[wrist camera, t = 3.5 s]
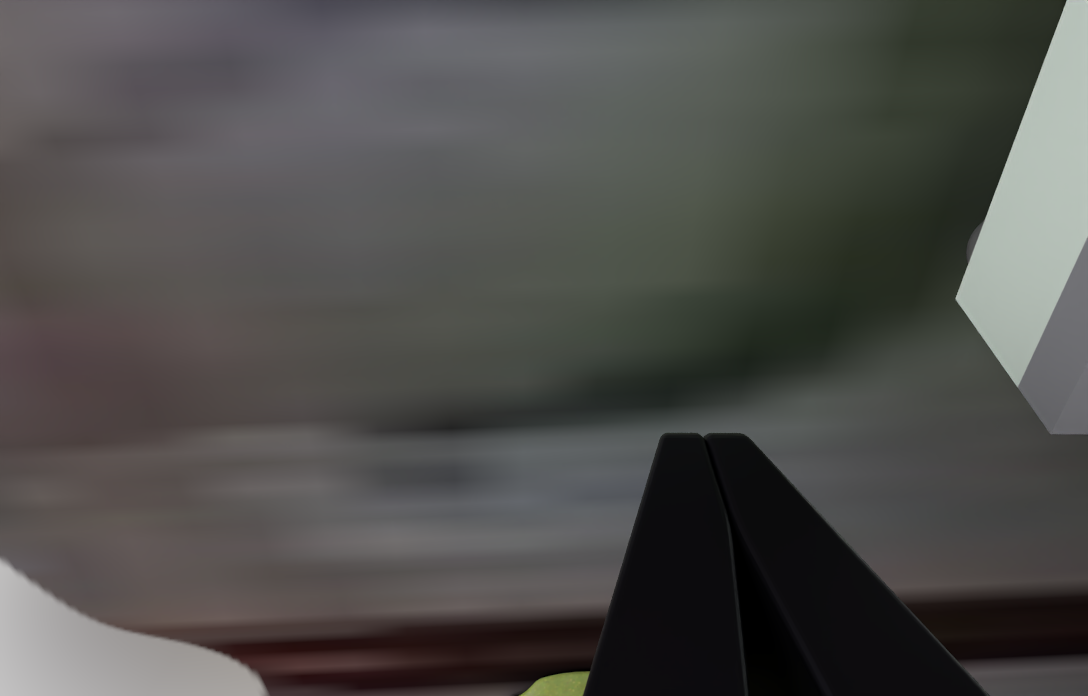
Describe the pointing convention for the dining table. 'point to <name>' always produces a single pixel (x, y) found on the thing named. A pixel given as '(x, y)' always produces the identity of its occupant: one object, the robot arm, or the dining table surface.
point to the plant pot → (559, 685)
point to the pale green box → (1041, 241)
